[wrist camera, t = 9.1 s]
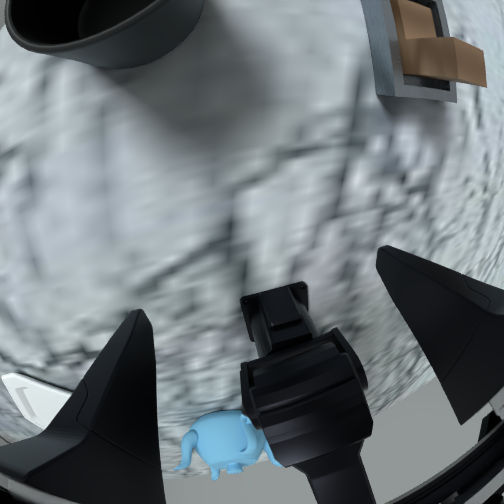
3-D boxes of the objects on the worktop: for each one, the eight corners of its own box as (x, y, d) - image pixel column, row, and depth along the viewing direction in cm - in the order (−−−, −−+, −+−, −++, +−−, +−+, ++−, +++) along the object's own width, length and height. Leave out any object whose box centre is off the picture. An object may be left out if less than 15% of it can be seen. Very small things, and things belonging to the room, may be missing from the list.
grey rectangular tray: (438, 99, 18) (456, 103, 16) (376, 94, 17) (395, 96, 15) (422, -1, 12) (440, -4, 10) (354, -21, 11) (371, -29, 9)
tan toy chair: (426, 78, 16) (486, 87, 11) (394, 73, 16) (458, 78, 10) (415, 10, 13) (473, 5, 7) (382, 1, 12) (441, -14, 6)
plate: (130, 444, 44) (130, 452, 42) (29, 415, 35) (27, 423, 33) (140, 401, 34) (140, 414, 32) (-2, 355, 24) (-6, 366, 23)
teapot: (255, 394, 36) (270, 455, 28) (276, 423, 45) (289, 468, 36) (168, 414, 36) (172, 471, 28) (206, 439, 45) (213, 483, 36)
